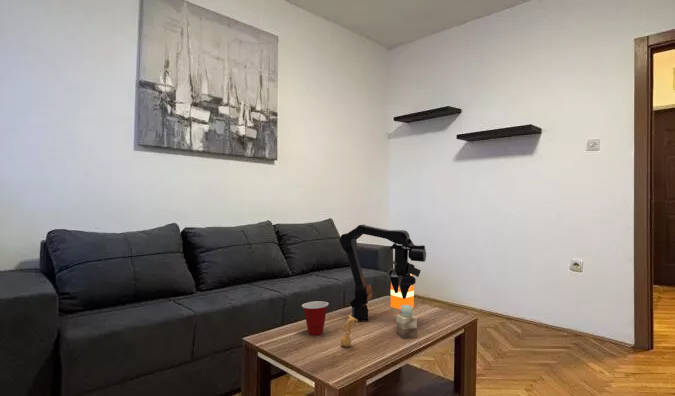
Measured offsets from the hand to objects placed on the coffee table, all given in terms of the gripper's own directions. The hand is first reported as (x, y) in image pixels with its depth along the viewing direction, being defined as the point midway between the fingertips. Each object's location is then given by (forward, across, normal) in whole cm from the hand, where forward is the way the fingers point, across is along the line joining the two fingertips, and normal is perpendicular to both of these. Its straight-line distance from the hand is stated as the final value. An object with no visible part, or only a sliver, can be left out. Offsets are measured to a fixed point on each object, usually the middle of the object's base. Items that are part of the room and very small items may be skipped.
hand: (400, 295), depth 165 cm
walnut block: (+13, -13, +2) cm, 18 cm away
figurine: (+13, -20, +28) cm, 36 cm away
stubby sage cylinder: (+5, -12, +2) cm, 14 cm away
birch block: (+9, -12, +2) cm, 15 cm away
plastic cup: (+13, -3, +37) cm, 40 cm away
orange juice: (+13, +26, -12) cm, 31 cm away
